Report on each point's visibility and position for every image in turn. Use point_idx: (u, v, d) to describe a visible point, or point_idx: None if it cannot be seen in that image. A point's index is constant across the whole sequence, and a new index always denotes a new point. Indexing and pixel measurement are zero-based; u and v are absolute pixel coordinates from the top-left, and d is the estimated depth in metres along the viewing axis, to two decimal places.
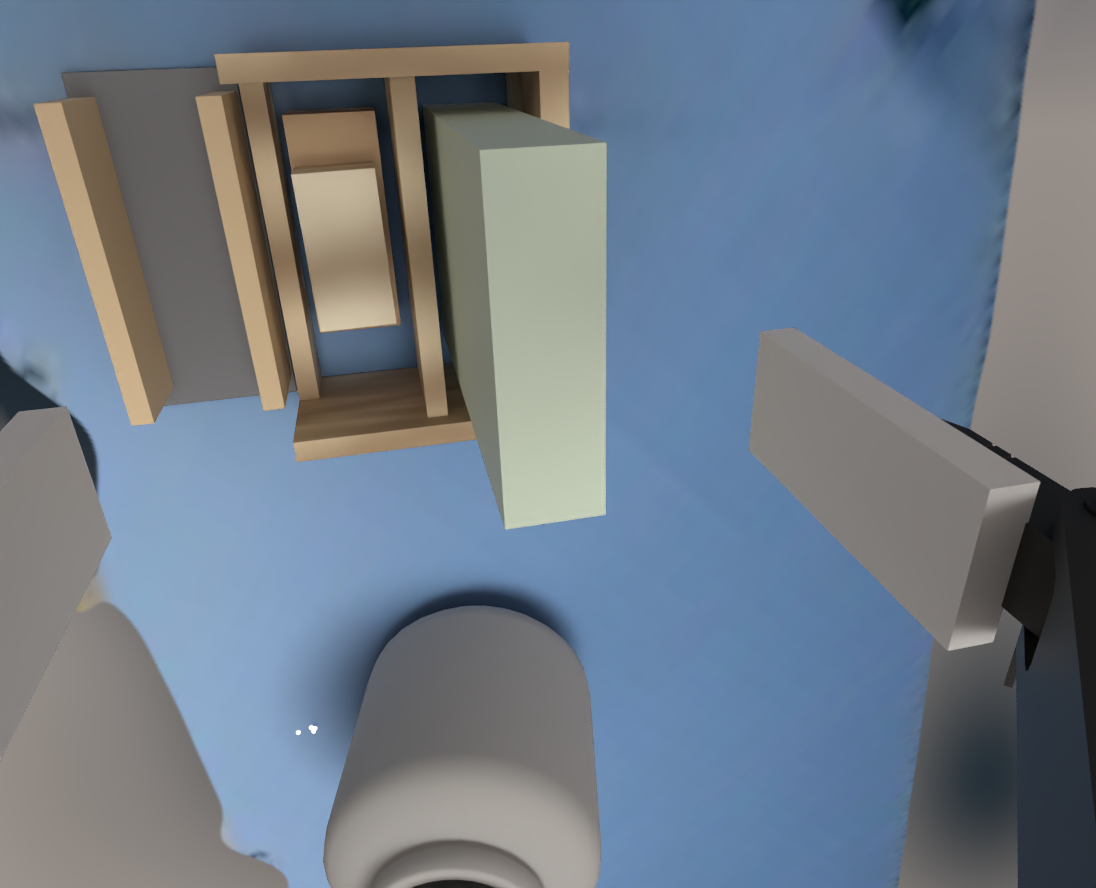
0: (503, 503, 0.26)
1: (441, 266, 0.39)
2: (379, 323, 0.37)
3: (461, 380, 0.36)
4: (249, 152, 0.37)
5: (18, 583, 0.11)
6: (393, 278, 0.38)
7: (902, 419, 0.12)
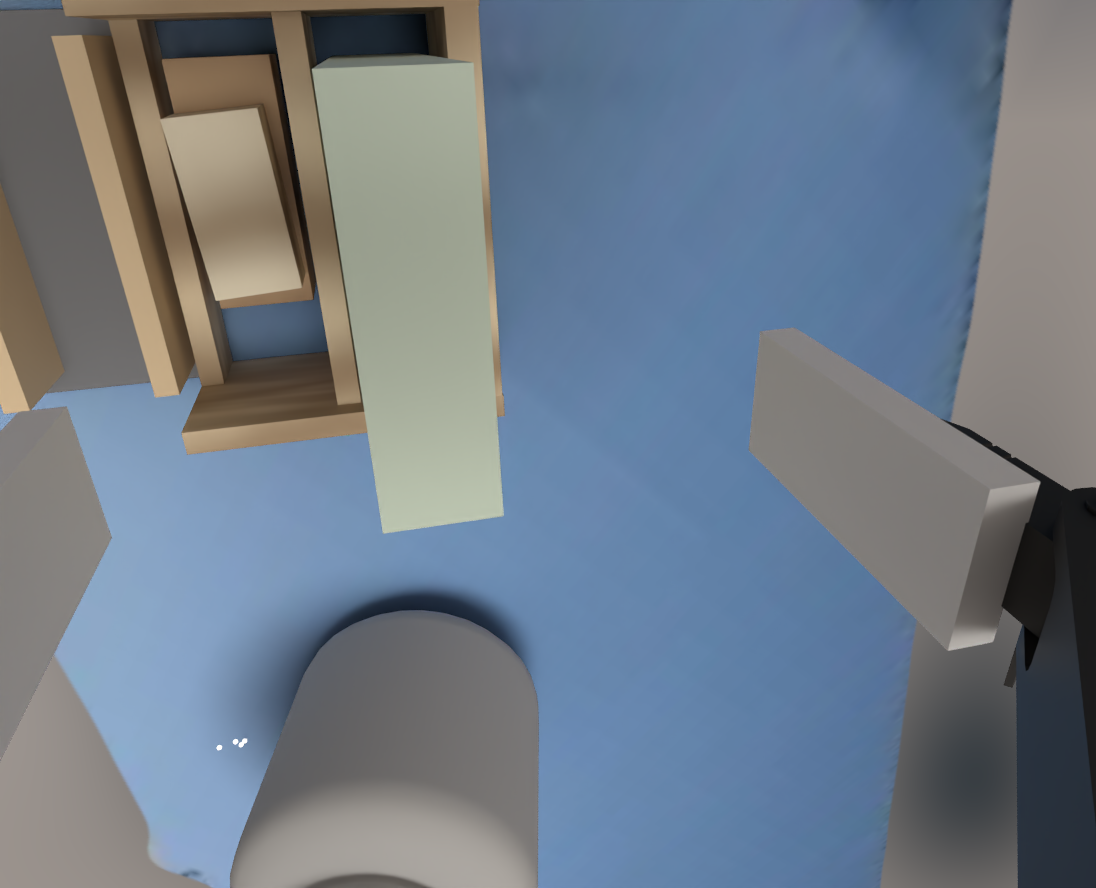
0: (379, 503, 0.22)
1: None
2: (282, 288, 0.33)
3: None
4: None
5: (19, 583, 0.11)
6: (301, 247, 0.34)
7: (902, 419, 0.12)
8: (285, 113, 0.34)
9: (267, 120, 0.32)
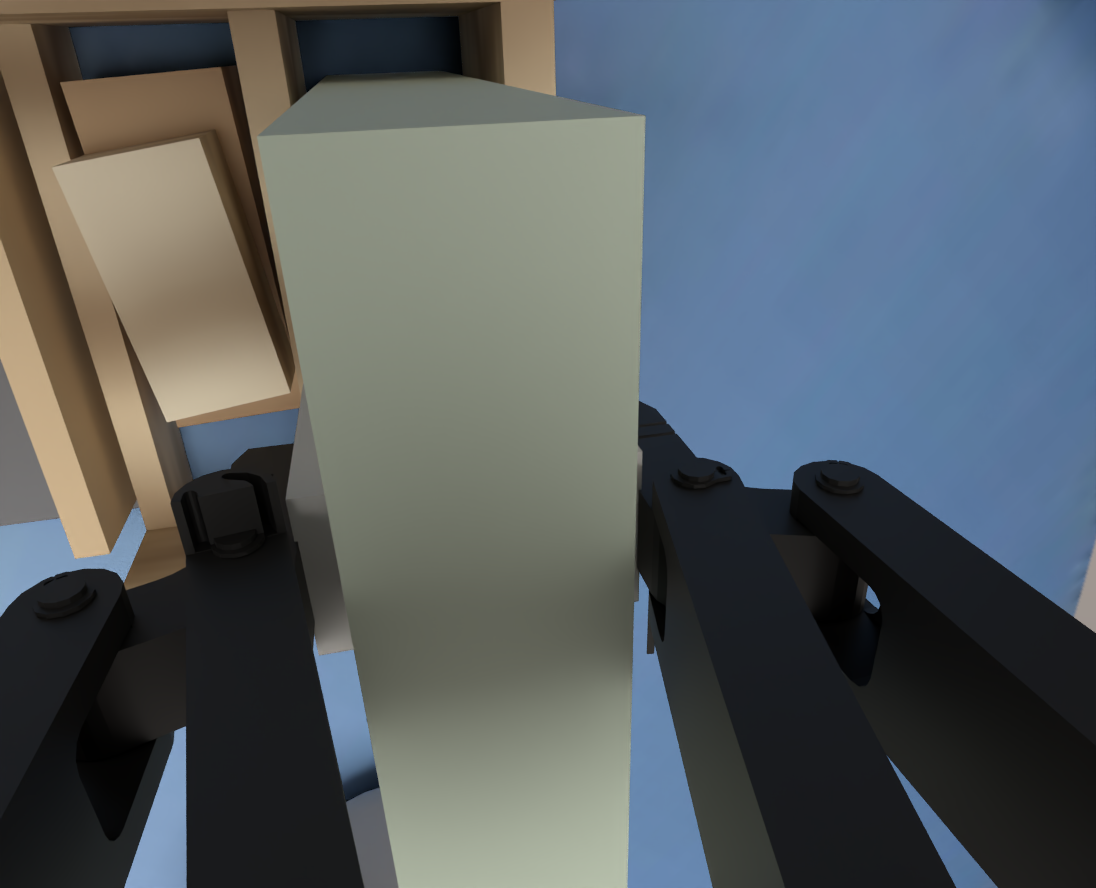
0: None
1: None
2: (261, 396, 0.22)
3: None
4: None
5: None
6: None
7: None
8: None
9: (222, 154, 0.21)
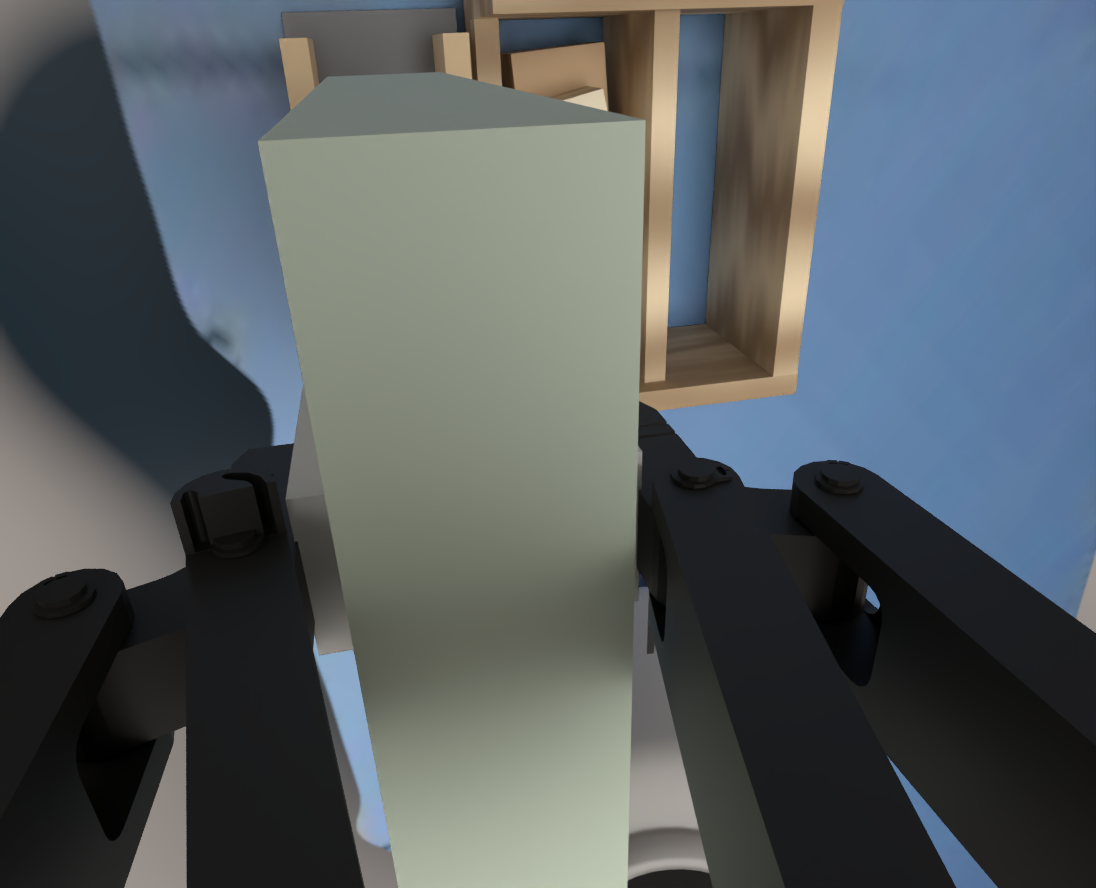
0: None
1: None
2: None
3: None
4: None
5: None
6: None
7: None
8: None
9: None
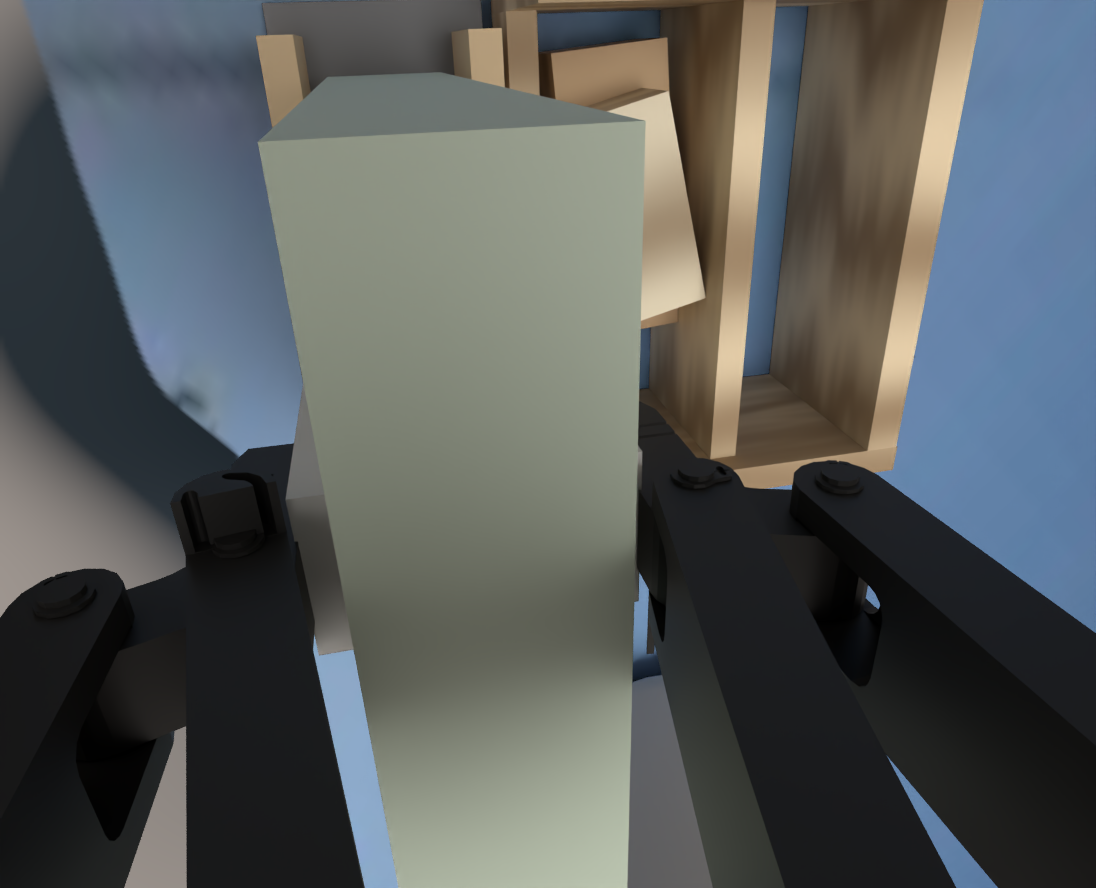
0: None
1: None
2: (684, 302, 0.28)
3: None
4: None
5: None
6: None
7: None
8: None
9: None
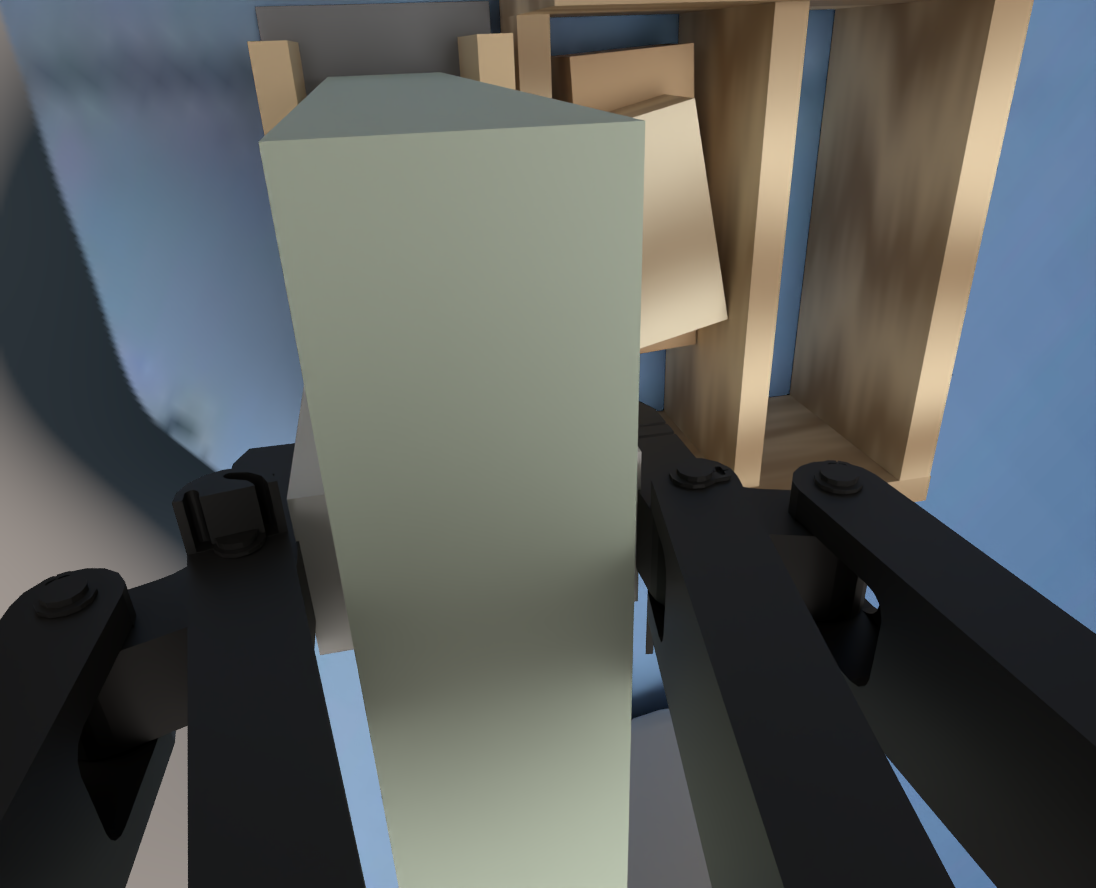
0: None
1: None
2: (705, 323, 0.26)
3: None
4: None
5: None
6: None
7: None
8: None
9: None
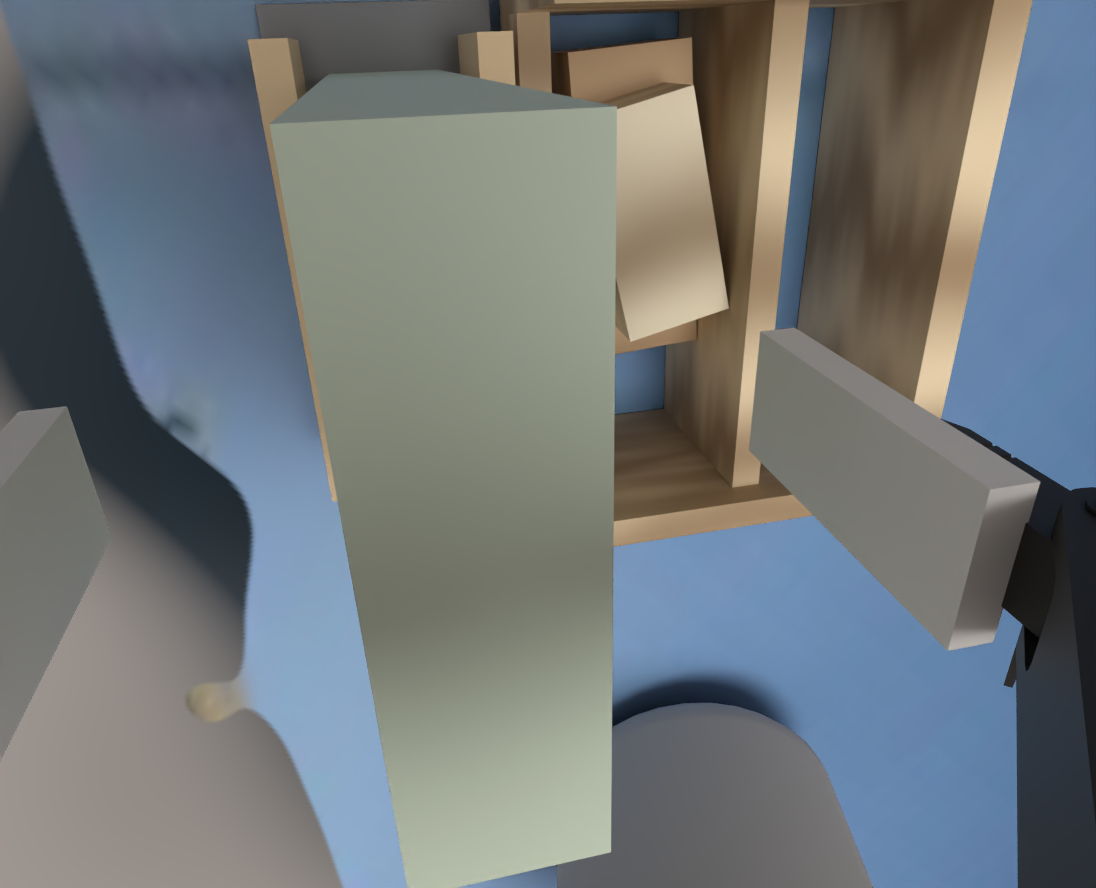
0: (403, 855, 0.13)
1: None
2: (706, 313, 0.26)
3: None
4: None
5: (18, 584, 0.11)
6: None
7: (902, 419, 0.12)
8: None
9: None
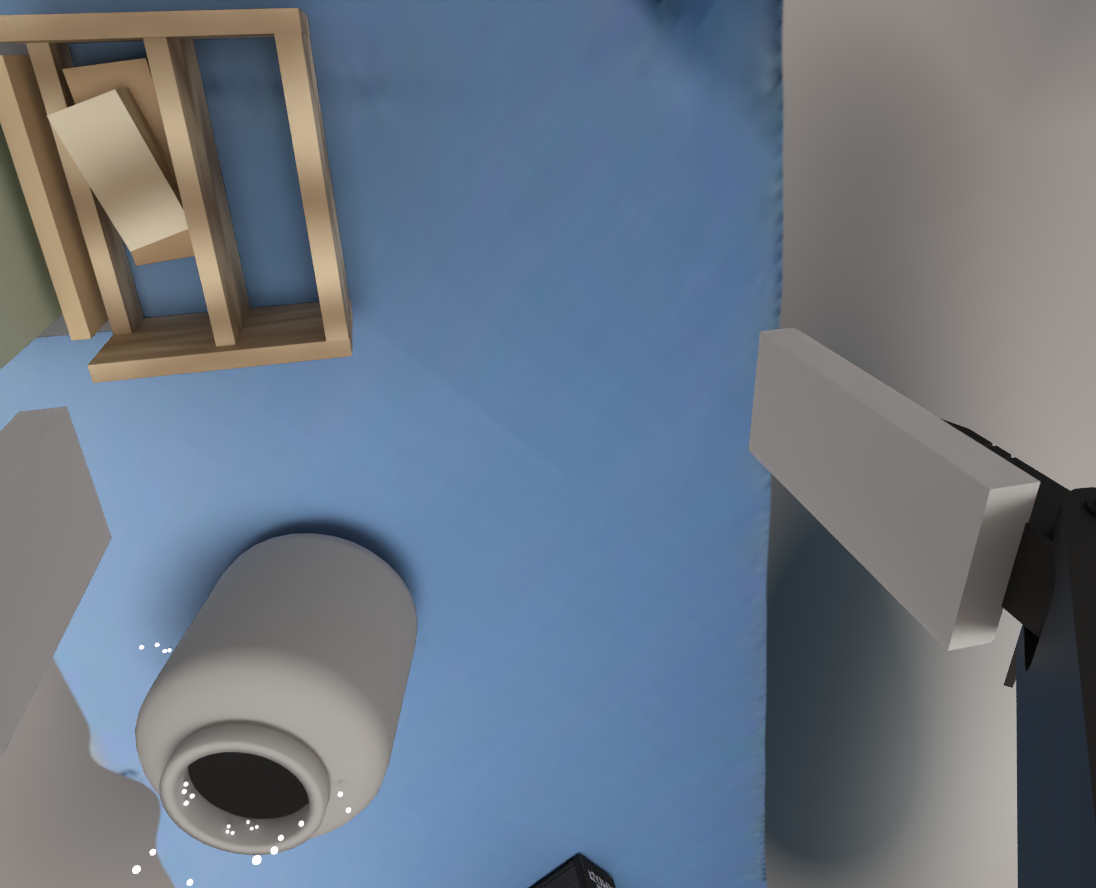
0: None
1: None
2: (177, 230, 0.41)
3: None
4: None
5: (18, 584, 0.11)
6: None
7: (902, 419, 0.12)
8: None
9: (134, 100, 0.40)
